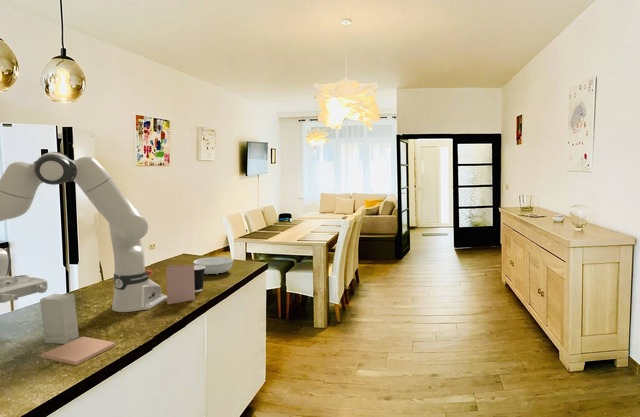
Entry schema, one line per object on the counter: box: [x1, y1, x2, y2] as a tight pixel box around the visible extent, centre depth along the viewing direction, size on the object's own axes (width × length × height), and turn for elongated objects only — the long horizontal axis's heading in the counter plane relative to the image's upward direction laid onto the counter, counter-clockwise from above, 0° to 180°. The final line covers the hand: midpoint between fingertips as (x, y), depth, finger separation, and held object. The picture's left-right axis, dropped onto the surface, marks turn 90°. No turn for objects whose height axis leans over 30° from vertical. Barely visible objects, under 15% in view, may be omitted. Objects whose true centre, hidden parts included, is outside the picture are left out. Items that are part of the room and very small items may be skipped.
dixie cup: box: [194, 265, 205, 293], centre depth 190 cm, size 8×8×11 cm
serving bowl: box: [192, 256, 234, 275], centre depth 223 cm, size 21×21×7 cm
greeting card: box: [165, 264, 196, 305], centre depth 174 cm, size 11×7×15 cm, turn 89°
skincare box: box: [39, 293, 80, 345], centre depth 134 cm, size 8×6×15 cm
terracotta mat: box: [40, 336, 117, 366], centre depth 127 cm, size 14×14×1 cm
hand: (30, 293), depth 138 cm, fingers open, 8 cm apart
